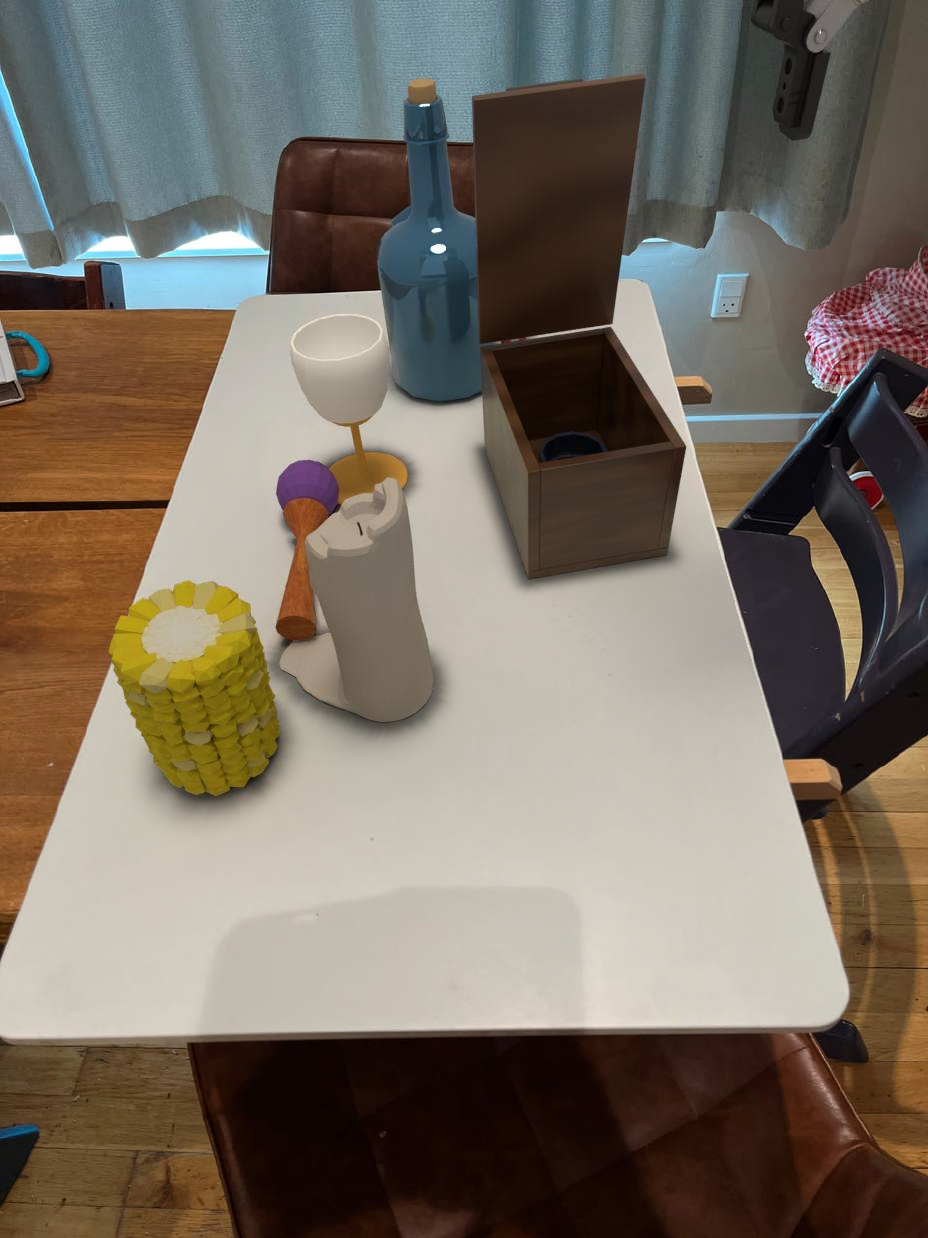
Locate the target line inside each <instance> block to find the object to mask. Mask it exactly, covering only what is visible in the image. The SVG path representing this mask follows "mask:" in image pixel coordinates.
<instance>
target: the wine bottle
mask: <svg viewBox="0 0 928 1238" xmlns="http://www.w3.org/2000/svg"><path fill="white" fill-rule="evenodd" d="M407 95H408V96H407V98H406V99H404V100H403V135H402V139H403V142H404V143H405V144H406V153H407V154H406V157H407V169H408V185H409V195H410V197H409V199H410V205H409V206H407V207H405V208H404V209H403V210H402V211H400V212H399V213H398V214H397V215H396V216H394V217H393V218H392V219H391V221H390V228H389V229H388V230H387V231H386V232H384V234H383V235H382V237H381V238H380V240H379V243H378V245H377V248H376V254H375V255H376V256H375V257H376V264H377V265H376V266H377V272H378V280H379V285H380V292H381V300H382V307H383V313H384V318H385V319H384V320H385V327H386V335H387V342H388V346H389V354H390V362H391V367H392V375H393V381H394V382H395V383H396V384H397V386H398V387H399V388H400V389H402V390H403V391H404V392H406V393H407V394H409V395H410V396H412V397H413V398H417V399H422V400H428V401H434V402H439V403H440V402H445V401H446V402H447V401H455V400H461V399H462V400H463V399H469V398H470V397H472V396H474V395H476V394H479V393H481V392H482V383H481V364H480V346H486V345H494V344H501V343H502V341H498V342H492V343H485V344H480V342H479V338H478V301H477V265H476V229H475V216H472V215H470V214H468V213H466V212H463V211H460V210H458V209H457V207H456V206H455V205H454V197H453V187H452V178H451V177H452V176H451V168H450V158H449V157H450V156H449V148H448V139H449V138H450V133H449V129H448V125H447V119H446V113H445V107H444V101H443V98H442V96H441V95H439V94H437V84H436V81H435V80H433V79H430V78H426V77H425V78H416V79H414V80H410V81H409V82H408V84H407Z"/></svg>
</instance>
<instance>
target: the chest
mask: <svg viewBox="0 0 928 1238" xmlns="http://www.w3.org/2000/svg"><path fill="white" fill-rule="evenodd" d="M480 364H481V383H482V391H481V396H482V397H481V400H482V419H483V436H484V438H483V439H484V451H485V454H486V457H487V459H488V460H487V461H488V463H489V465H490V469H491V472H492V475H493V477H494V481H495V483H496V486H497V489H498V492H499V495H500V498H501V501H502V504H503V508H504V511H505V513H506V516H507V517H506V518H507V519H508V522H509V525H510V528H511V531H512V534H513V537H514V541H515V543H516V546H517V549H518V552H519V555H520V558H521V561H522V564H523V567H524V570H525V573H526V575H527V579H528V580H532V579H537V578H542V577H548V576H554V575H559V574H566V573H571V572H577V571H582V570H583V571H584V570H588V569H594V568H599V567H605V566H606V567H607V566H610V565H617V564H623V563H628V562H634V561H639V560H645V559H650V558H652V559H653V558H657V557H662V556H667V555H668V552H669V546H670V540H671V535H672V530H673V524H674V518H675V514H676V507H677V502H678V496H679V491H680V486H681V485H680V484H681V480H682V474H683V468H684V463H685V459H686V458H685V457H686V452H687V445H686V443H685V441H684V440H683V438H682V437H681V435H680V434H679V432H678V431H677V429H676V427H675V426H674V423H672V421H671V419H670V418H669V416H668V415H667V413H666V411H665V410H664V408H663V406H662V405H661V404H660V402H659V400H658V399H657V397H656V396H655V394H654V392H653V390H652V389H651V387H650V386H649V384H648V383H647V380H645V378H644V376H643V375H642V373H641V371H640V370H639V368H638V367H637V365H636V363H635V362H634V361H633V359H632V358H631V355H629V353H628V351H627V350H626V348H625V346H624V345H623V343H622V341H621V340H620V339H619V336H618V335H617V333H616V332H615V330H614V329H613V328H612V326H606V327H600V328H593V329H586V330H579V331H573V332H568V333H561V334H553V335H547V336H541V337H534V338H529V339H528V338H527V339H523V340H520V341H514V342H501V344H494V345H486V346H480ZM572 431H574V432H580V433H587V434H591V435H592V436H594V437H596V438H598V439H599V440H601V441H603V443H604V445H605V447H606V449H607V451H608V452H603V453H597V454H591V455H585V456H579V457H572V458H566V459H560V460H554V461H548V462H542V463H538V452H539V449H540V447H541V445H542V443H543V441H545V440H547V439H548V438H550V437H552V436H553V435H555V434H559V433H566V432H572Z"/></svg>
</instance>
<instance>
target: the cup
mask: <svg viewBox="0 0 928 1238" xmlns="http://www.w3.org/2000/svg"><path fill="white" fill-rule="evenodd" d="M289 348H290V359H291V360H290V362H291V365H292V368H293V371H294V374H295V376H296V379H297V382H298V384H299V386H300V389H301V391H302V393H303V395H304V396H305V398H306V400H307V401H308V403H309V405H310V406H311V408H313V409H314V412H316V413H317V414H318V416H319V417H321V418H323V419H324V420H326V421H327V422H330V423H331V424H334V425H337V426H339V427H344V428H349V429H350V432H351V437H352V442H353V447H354V451H355V452H354V453H355V454H351V455H348V456H347V455H346V456H345V457H343V458H341V459H340V460H338V461H336V462H334V463H333V464H332V465H331V466H330V467H328V468H329V470H330V471H331V472H332V473H333V475H334V476H335V478H336V479H337V483H338V487H339V498H338V501H337V505H340V506H341V505H342V504H343V502H344V501H345V500H346V499H348V498H350V497H353V496H356V495H358V494H363V493H373V492H374V488H375V485H376V484H379V483H382V482H383V481H384V480H385V479H386V478H387V477H388V478H394V479H396V480H397V481H398V483H399V484H400V486H401V488H402V490H403V489H404V488H405V486H406V485H407V483H408V475H409V471H408V470H407V468H406V466H405V464H404V462H402V460H400V459H398V458H397V457H395V456H394V455H391V454H387V453H383V452H380V451H379V452H378V451H369V452H367V451H364V446H363V441H362V435H361V431H360V426H361V425H364V424H366V423H367V422H369V421H370V420H371V419H372V418H373V417H374V416H375V415H376V414H377V413H378V412H379V411H380V409H381V408H382V407H383V405H384V402H385V400H386V396H387V392H388V388H389V381H390V372H391V355H390V348H389V342H388V339H387V337H386V334H385V330H384V329H383V327H382V326H381V324H380V322H379V321H376V320H375V319H373V318H371V317H369V316H367V315H361V314H356V313H355V314H354V313H339V314H338V313H335V314H330V315H327V316H322V317H319V318H316V319H313V320H311V321H309V322H307V323H305V324H303V325H302V326H301V327H299V328H298V329H297V330H296V331H295V332H293V334H292V337H291V340H290V342H289Z"/></svg>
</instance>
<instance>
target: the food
mask: <svg viewBox="0 0 928 1238" xmlns="http://www.w3.org/2000/svg"><path fill="white" fill-rule="evenodd" d="M256 623H257V621H256V619H255V618H254V617H253V616H252V612H251V603H249V602H247V601H245V600H243V599H241V598H239V593H238V592H236V591H234V590H233V589H231V588H230V587H228V586H224V585H219V584H218V583H216V582H215V581H214V580H209V581H205V582H201V583H197V584H196V583H194V582H193V581H191V580H190V579H188V580H185V581H181V582H178V583H175V584H174V586H173V590H172V589H171V588H168V587H167V588H163V589H157V590H156V591H154V592H153V593H152V594H150V595H149V596H148V599H147V598H145V597H142V598H140V599H139V600H138V601H136V602H135V603H133V604H132V605H131V606H129V607H128V615H123V614H122V615H120V616H119V619H118V621H117V622H116V625H115V626H114V634H113V635H112V638H111V640H110V644H109V647H108V654H109V655H111V657H112V658H111V660H110V662H111V664H112V665H113V666H114V667H113V668H112V671H113V672H114V674H115V676H116V677H117V680H116V683H117V684H118V685H119V686H120V687H121V688H122V692H123V697H124V700H125V701H124V702H125V704H126V707H127V708H128V709H129V710H130V716H131V717H132V718H133V719H134V720H135V724H134V725H135V728H136V729H137V730H138V731H139V732H140V736H141V737H142V738H143V740H144V742H145V744H146V746H147V748H148V752H149V753H150V754H151V755H152V756H153V761H152V762H153V763H154V765H155V766H156V767H157V768H158V769H159V770H160V771H161V772H162V773H163V774H164V778H165V779H166V780H168V781H169V783H170V784H171V785H172V786H173V787H175V788H180V789H181V788H182V787H184V791H185V792H188V793H190V794H192V795H196V796H197V795H201V794H204V793H205V792H206V793H208V794H210V795H213V796H214V797H217V796H220V795H221V794H225V793H228V792H229V791H230V790H231V787H232V788H245V786H246V784H247V783H248V781H249V780H250V779H251V778H255V777H257V776H259V775H261V774H262V773H264V771H265V769H266V768H267V766H268V764H269V763H270V760H269V759H268V758H271V757H272V756H273V755H275V754H276V750H277V748H278V743H277V741H276V739H277V738H279V736H280V735H281V731H280V725H279V723H280V721H279V719H278V714H277V712H276V702H275V701H274V700H275V698H276V694H275V693H274V691H273V689H272V687H271V686H270V685H271V684H270V681H271V676H270V672H269V671H268V664H267V663H268V662H267V661H268V660H267V659H265V656H266V655H265V651H264V649H265V648H264V645H263V644H262V642H261V638H260V634H259V632H258V627H257V626H256Z"/></svg>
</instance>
